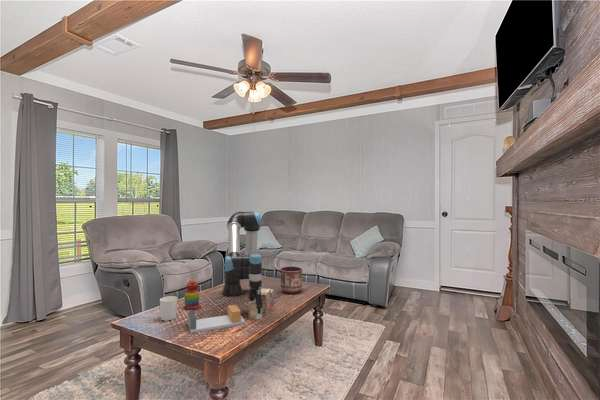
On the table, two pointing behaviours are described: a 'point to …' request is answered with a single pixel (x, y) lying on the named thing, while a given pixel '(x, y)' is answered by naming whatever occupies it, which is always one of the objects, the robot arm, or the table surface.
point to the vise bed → (210, 322)
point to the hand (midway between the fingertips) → (255, 315)
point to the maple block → (253, 310)
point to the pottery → (291, 279)
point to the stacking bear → (192, 296)
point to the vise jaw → (234, 313)
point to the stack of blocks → (267, 299)
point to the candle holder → (168, 308)
